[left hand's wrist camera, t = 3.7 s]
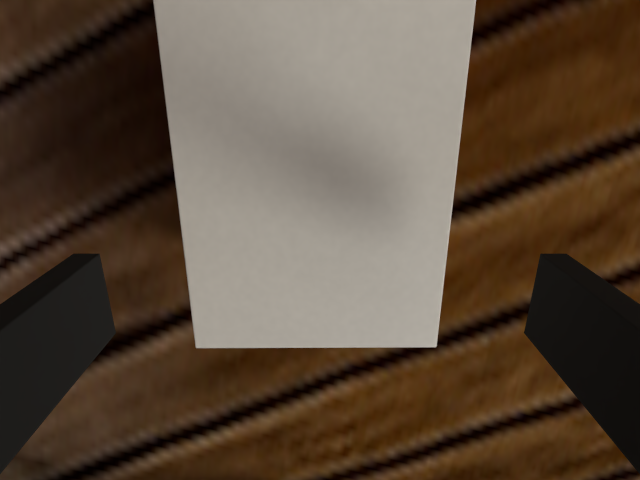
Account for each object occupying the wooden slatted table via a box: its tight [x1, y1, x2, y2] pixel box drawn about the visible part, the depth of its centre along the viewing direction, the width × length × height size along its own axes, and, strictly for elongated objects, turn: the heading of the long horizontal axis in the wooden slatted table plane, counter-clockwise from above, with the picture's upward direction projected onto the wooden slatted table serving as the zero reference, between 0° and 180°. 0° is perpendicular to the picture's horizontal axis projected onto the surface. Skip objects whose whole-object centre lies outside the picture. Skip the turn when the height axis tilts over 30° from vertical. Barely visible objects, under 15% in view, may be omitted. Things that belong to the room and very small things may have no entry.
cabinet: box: [153, 0, 476, 348], centre depth 18 cm, size 17×10×9 cm, turn 0°
